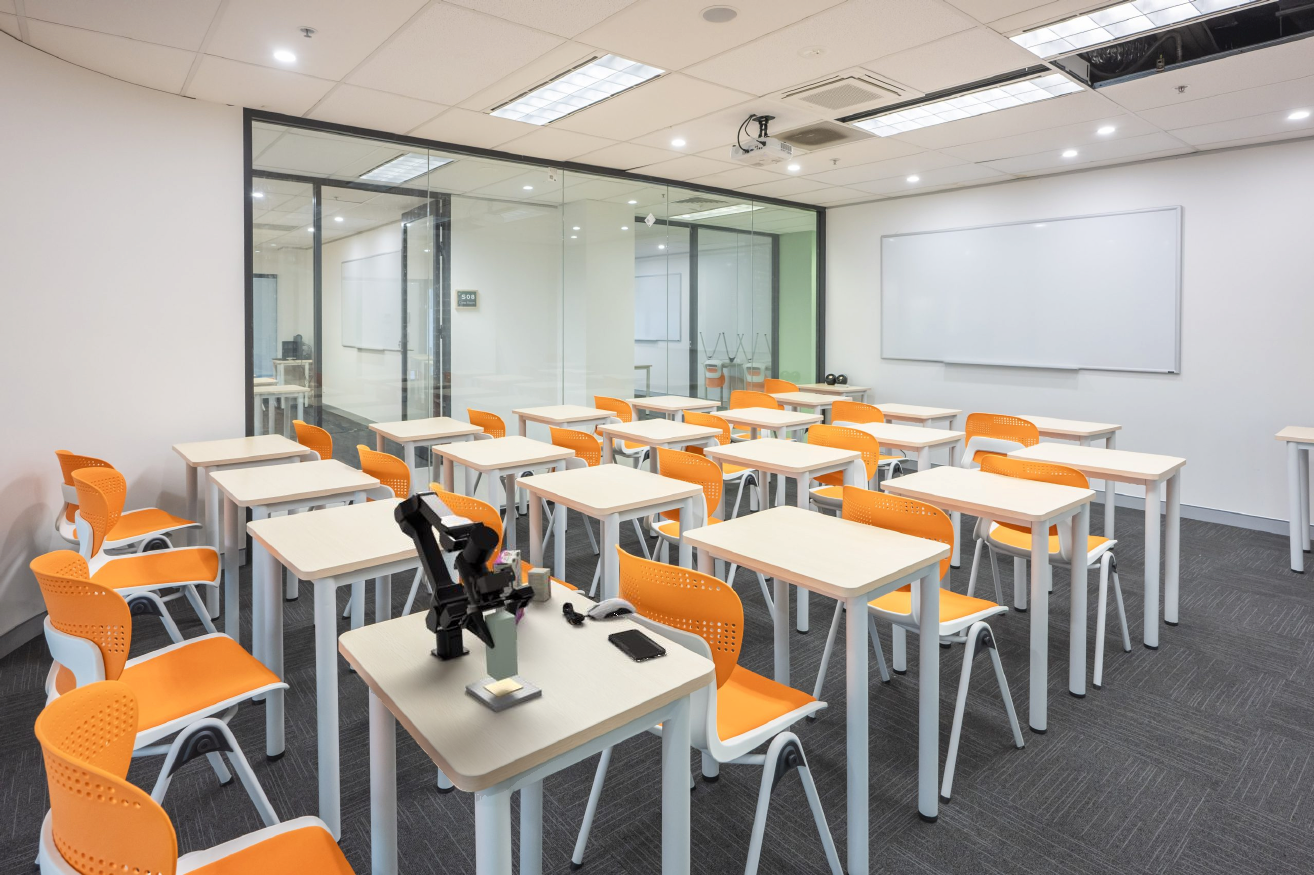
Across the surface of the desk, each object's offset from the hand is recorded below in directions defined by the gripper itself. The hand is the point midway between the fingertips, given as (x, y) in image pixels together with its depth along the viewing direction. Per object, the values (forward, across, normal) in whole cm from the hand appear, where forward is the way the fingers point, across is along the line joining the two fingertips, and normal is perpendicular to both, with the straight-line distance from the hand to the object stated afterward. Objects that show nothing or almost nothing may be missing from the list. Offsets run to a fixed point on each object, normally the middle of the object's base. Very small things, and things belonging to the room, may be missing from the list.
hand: (504, 644), depth 142 cm
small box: (-23, +34, +38) cm, 56 cm away
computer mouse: (-8, +39, +24) cm, 46 cm away
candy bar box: (-17, +20, +32) cm, 42 cm away
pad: (+6, 0, +8) cm, 10 cm away
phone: (+7, +33, +8) cm, 35 cm away
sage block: (+4, 0, +6) cm, 7 cm away
